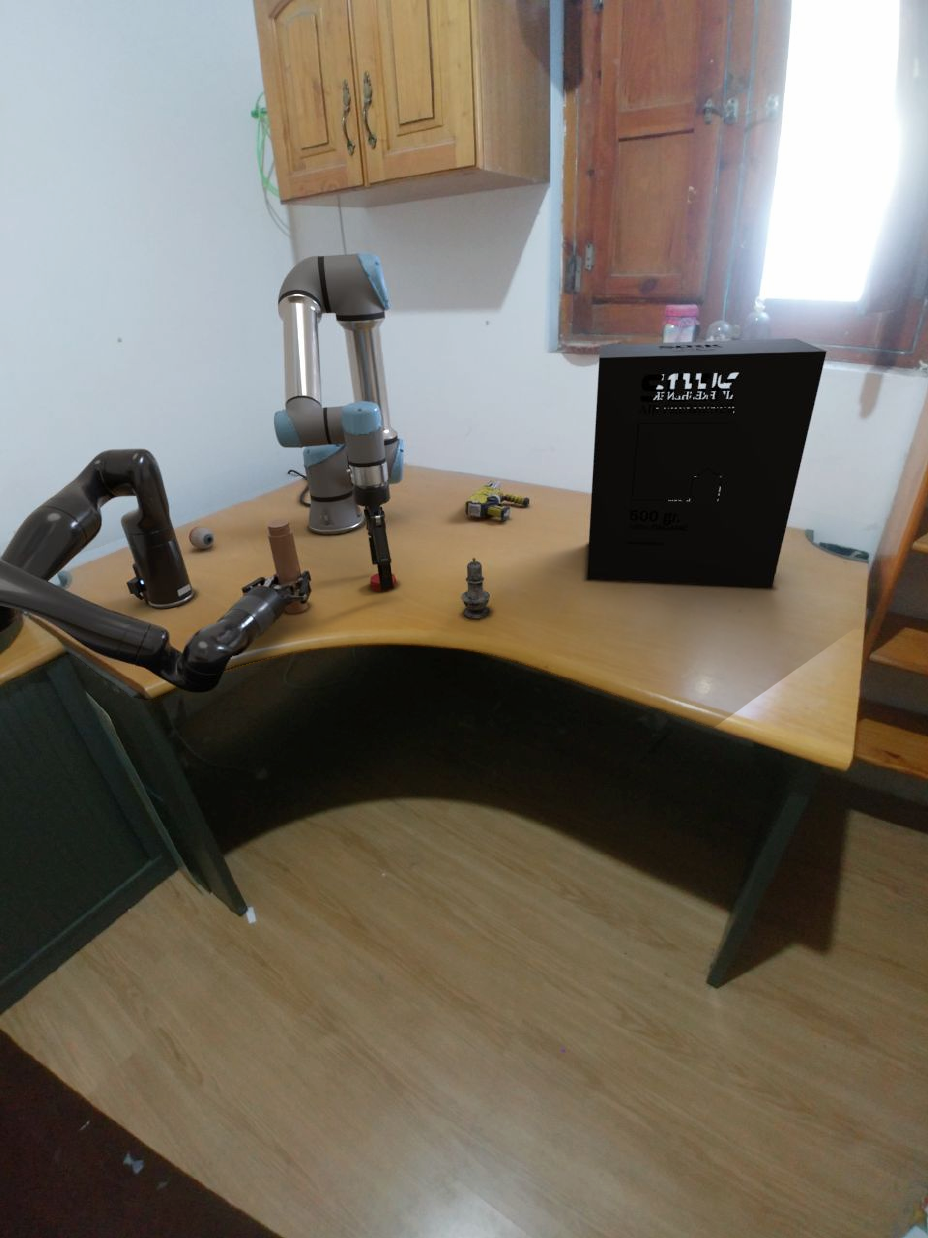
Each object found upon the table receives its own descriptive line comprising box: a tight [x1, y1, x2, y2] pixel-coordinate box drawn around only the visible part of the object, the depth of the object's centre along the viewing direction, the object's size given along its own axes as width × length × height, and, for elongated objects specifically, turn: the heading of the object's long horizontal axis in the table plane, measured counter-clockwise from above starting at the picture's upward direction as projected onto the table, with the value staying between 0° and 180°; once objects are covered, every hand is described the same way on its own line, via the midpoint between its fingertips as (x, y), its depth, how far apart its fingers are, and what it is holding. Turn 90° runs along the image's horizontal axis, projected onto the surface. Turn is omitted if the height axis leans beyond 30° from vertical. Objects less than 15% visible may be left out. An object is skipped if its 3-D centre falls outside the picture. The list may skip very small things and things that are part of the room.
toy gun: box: [464, 480, 531, 522], centre depth 174 cm, size 5×24×15 cm
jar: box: [267, 519, 309, 615], centre depth 123 cm, size 5×5×19 cm
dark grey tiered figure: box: [460, 557, 491, 619], centre depth 119 cm, size 6×6×12 cm
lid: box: [369, 572, 397, 593], centre depth 134 cm, size 6×6×2 cm
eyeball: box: [188, 525, 215, 550], centre depth 158 cm, size 6×6×6 cm
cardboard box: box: [586, 338, 828, 589], centre depth 126 cm, size 38×20×45 cm, turn 78°
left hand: (296, 574), depth 127 cm, fingers closed on jar, 5 cm apart
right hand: (382, 575), depth 134 cm, fingers open, 13 cm apart
